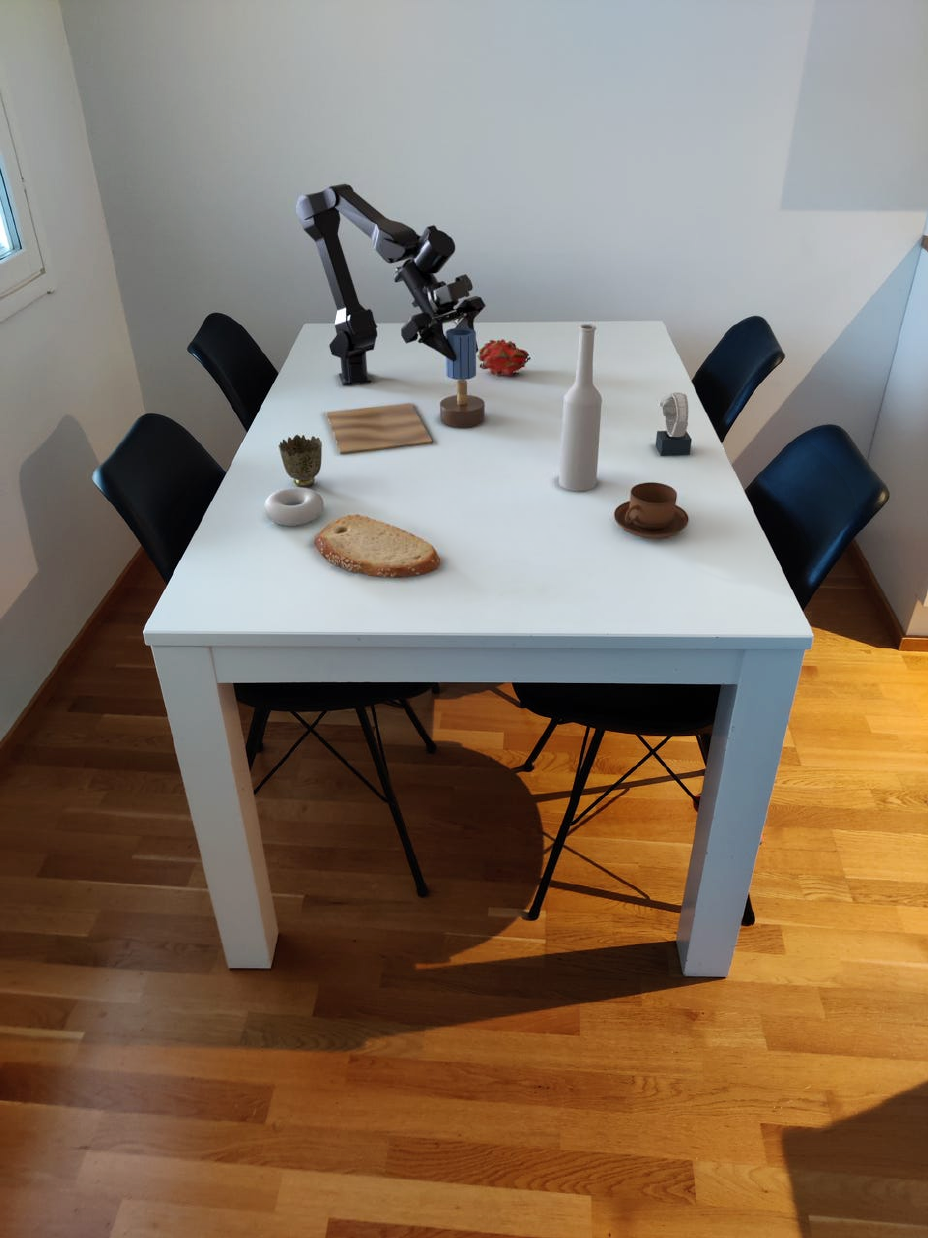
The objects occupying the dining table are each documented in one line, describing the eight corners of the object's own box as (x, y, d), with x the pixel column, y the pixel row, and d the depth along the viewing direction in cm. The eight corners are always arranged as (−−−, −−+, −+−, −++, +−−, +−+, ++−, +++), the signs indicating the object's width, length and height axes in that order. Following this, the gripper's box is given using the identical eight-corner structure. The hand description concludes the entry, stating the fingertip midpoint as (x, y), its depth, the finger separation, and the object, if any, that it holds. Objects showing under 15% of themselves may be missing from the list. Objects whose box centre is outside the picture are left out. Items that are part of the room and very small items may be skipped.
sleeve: (443, 371, 188) (442, 328, 183) (471, 368, 189) (471, 326, 185) (450, 381, 184) (449, 338, 179) (479, 378, 185) (479, 335, 180)
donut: (317, 531, 155) (330, 501, 163) (315, 512, 153) (328, 484, 161) (258, 529, 156) (274, 499, 164) (255, 510, 154) (271, 482, 162)
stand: (436, 413, 195) (434, 375, 190) (477, 408, 197) (477, 371, 192) (446, 430, 188) (445, 391, 183) (489, 425, 189) (489, 387, 185)
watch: (681, 440, 182) (688, 386, 176) (692, 458, 176) (699, 402, 169) (652, 441, 182) (658, 387, 176) (662, 459, 175) (669, 403, 169)
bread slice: (446, 571, 144) (445, 550, 142) (329, 591, 140) (327, 569, 138) (417, 517, 158) (416, 498, 156) (310, 534, 154) (308, 513, 152)
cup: (332, 478, 171) (328, 437, 166) (314, 496, 165) (309, 454, 160) (296, 472, 173) (291, 432, 168) (276, 490, 167) (270, 448, 162)
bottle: (603, 482, 168) (616, 325, 152) (581, 495, 164) (591, 335, 148) (574, 471, 172) (583, 317, 156) (551, 483, 168) (558, 326, 152)
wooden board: (326, 414, 195) (325, 412, 195) (411, 404, 199) (411, 402, 198) (340, 453, 179) (340, 451, 179) (432, 442, 183) (432, 440, 183)
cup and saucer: (670, 551, 148) (675, 517, 144) (601, 532, 153) (603, 498, 150) (698, 519, 156) (702, 486, 153) (631, 502, 162) (634, 469, 158)
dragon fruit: (473, 379, 215) (525, 386, 215) (476, 368, 206) (530, 376, 207) (477, 342, 215) (529, 349, 216) (481, 330, 206) (534, 338, 207)
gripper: (408, 272, 171) (452, 345, 171) (478, 252, 182) (520, 321, 182) (382, 307, 180) (424, 377, 180) (450, 286, 191) (490, 352, 191)
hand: (465, 356), depth 183 cm, fingers closed on sleeve, 6 cm apart
